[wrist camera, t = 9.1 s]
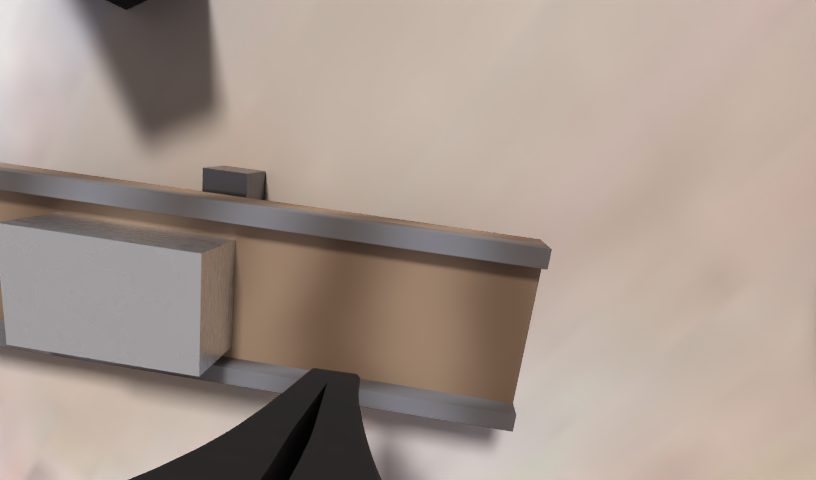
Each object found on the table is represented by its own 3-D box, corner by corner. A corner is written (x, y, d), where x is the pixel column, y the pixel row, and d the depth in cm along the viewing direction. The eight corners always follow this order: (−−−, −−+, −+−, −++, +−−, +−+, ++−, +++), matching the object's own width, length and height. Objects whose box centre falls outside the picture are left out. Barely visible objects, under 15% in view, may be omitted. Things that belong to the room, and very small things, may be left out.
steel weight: (235, 239, 17) (201, 253, 15) (231, 346, 18) (199, 376, 16) (56, 212, 18) (-5, 222, 15) (63, 319, 19) (6, 344, 16)
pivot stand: (265, 171, 20) (247, 173, 18) (255, 354, 22) (238, 375, 20) (225, 166, 20) (203, 167, 18) (219, 349, 22) (199, 369, 20)
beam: (540, 239, 17) (551, 249, 15) (505, 409, 19) (511, 435, 17) (-76, 152, 18) (-130, 151, 17) (-54, 318, 20) (-101, 333, 19)
